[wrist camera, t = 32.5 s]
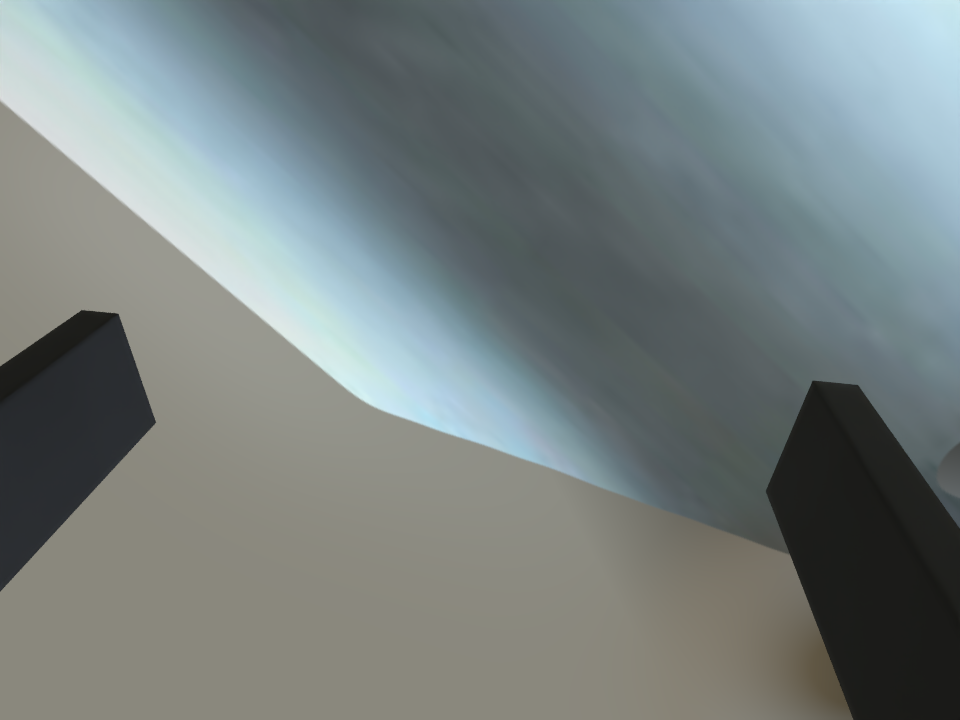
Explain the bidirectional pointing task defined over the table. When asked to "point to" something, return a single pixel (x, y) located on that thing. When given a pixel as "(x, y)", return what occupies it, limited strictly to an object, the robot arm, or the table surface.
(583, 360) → the table surface
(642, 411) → the table surface
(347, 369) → the table surface
